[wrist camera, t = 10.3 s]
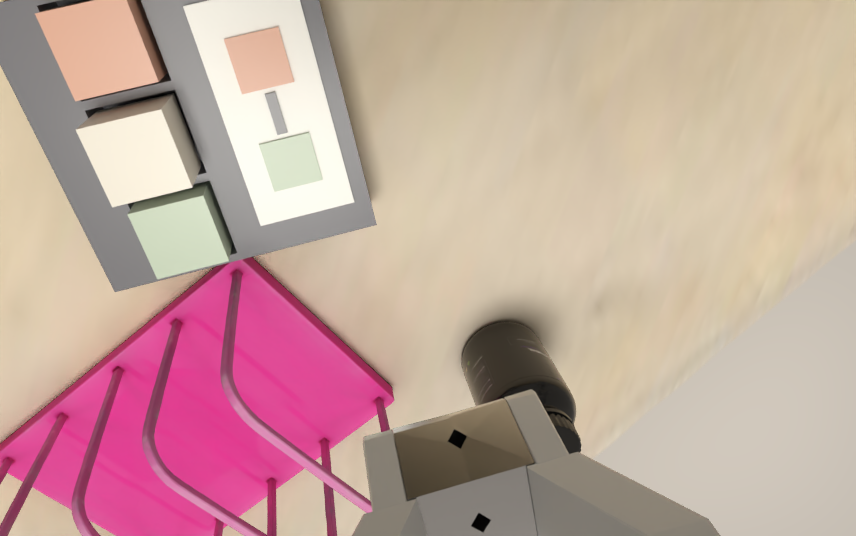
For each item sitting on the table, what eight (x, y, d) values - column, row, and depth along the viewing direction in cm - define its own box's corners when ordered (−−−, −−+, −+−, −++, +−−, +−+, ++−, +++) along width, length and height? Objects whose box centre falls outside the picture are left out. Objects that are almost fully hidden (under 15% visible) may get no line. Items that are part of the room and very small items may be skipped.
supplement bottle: (545, 317, 52) (608, 411, 42) (531, 385, 55) (587, 489, 45) (463, 318, 51) (508, 416, 41) (454, 388, 54) (493, 496, 44)
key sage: (211, 173, 41) (203, 195, 37) (234, 234, 43) (228, 261, 39) (141, 190, 40) (127, 214, 37) (168, 251, 42) (157, 279, 39)
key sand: (173, 93, 37) (161, 109, 33) (201, 165, 39) (192, 187, 35) (96, 111, 36) (75, 129, 33) (128, 183, 38) (112, 207, 35)
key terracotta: (140, -12, 35) (123, -7, 32) (171, 68, 37) (158, 81, 34) (60, 6, 35) (34, 13, 32) (95, 86, 37) (75, 101, 34)
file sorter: (393, 386, 53) (428, 542, 39) (174, 550, 57) (136, 745, 43) (240, 244, 45) (217, 378, 31) (-5, 446, 49) (-121, 645, 35)
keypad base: (301, -65, 37) (302, -65, 33) (370, 202, 45) (377, 227, 41) (3, 2, 36) (-33, 9, 32) (129, 264, 44) (112, 295, 40)
